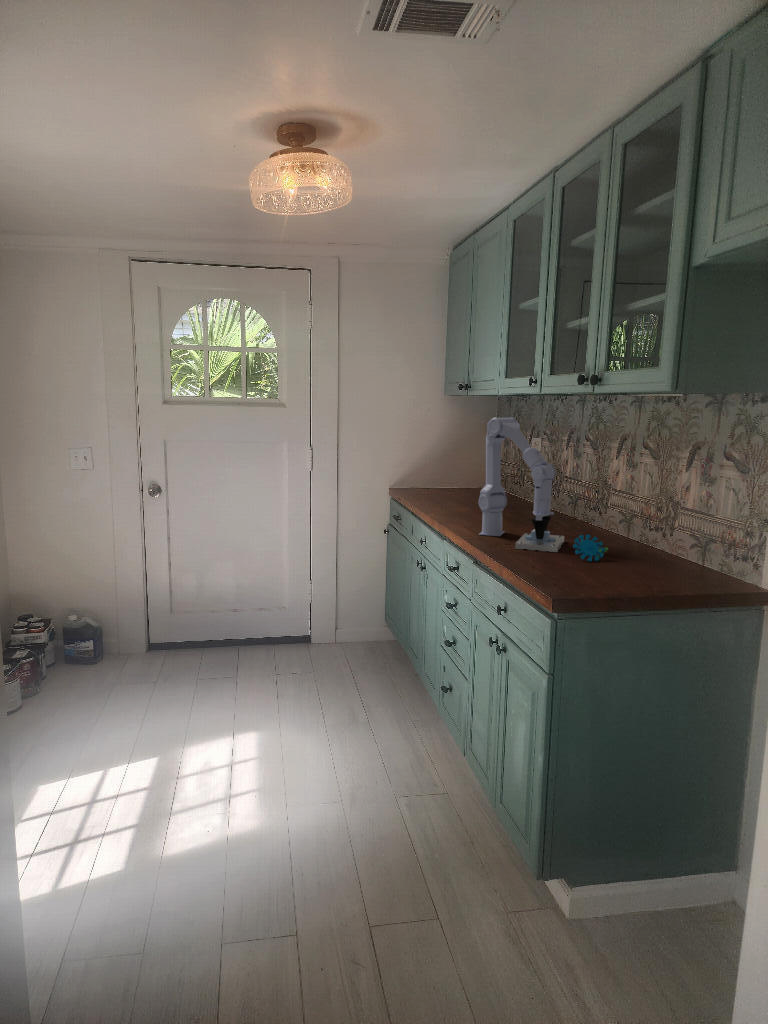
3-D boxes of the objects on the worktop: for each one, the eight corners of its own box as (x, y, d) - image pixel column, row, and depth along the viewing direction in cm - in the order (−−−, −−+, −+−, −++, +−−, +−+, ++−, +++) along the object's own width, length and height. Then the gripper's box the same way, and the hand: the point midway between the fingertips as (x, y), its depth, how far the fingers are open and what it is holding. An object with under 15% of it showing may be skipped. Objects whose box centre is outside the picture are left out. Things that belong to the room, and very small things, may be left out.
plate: (524, 538, 250) (525, 532, 249) (564, 541, 245) (564, 535, 244) (515, 548, 231) (515, 542, 231) (557, 552, 226) (557, 545, 226)
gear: (574, 557, 212) (573, 530, 218) (569, 566, 217) (568, 540, 223) (610, 562, 212) (608, 536, 218) (603, 572, 217) (601, 546, 223)
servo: (526, 543, 242) (527, 528, 241) (555, 545, 238) (556, 530, 237) (524, 545, 238) (525, 530, 237) (553, 547, 234) (554, 532, 234)
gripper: (551, 502, 227) (549, 542, 229) (556, 497, 241) (554, 534, 243) (530, 501, 230) (528, 540, 232) (536, 496, 243) (534, 533, 245)
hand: (540, 537), depth 238 cm, fingers open, 4 cm apart
